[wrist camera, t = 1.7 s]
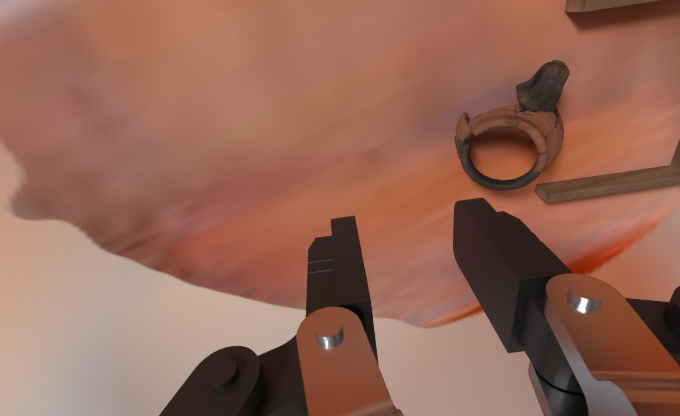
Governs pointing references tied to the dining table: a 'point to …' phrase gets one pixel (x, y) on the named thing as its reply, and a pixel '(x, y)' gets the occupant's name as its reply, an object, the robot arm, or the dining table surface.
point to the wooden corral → (618, 181)
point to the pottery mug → (521, 125)
